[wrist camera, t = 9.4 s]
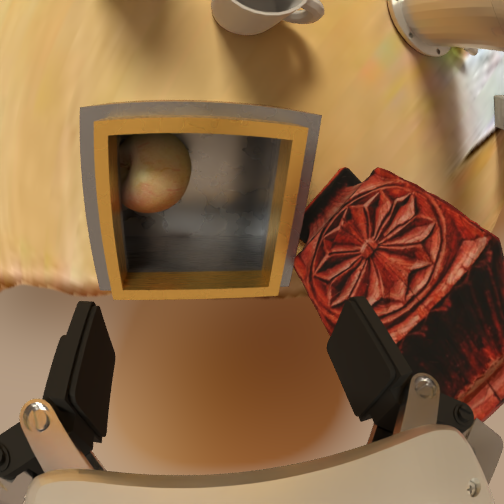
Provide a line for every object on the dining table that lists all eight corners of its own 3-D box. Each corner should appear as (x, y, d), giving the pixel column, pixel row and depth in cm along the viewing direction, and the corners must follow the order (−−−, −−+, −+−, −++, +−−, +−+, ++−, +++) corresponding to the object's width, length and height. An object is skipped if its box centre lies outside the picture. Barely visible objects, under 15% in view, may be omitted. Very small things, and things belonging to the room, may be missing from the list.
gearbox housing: (283, 107, 28) (336, 119, 18) (264, 238, 36) (297, 302, 26) (113, 102, 24) (66, 110, 13) (118, 239, 32) (94, 308, 21)
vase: (343, 146, 31) (577, 304, 6) (396, 210, 38) (549, 352, 13) (269, 230, 35) (398, 478, 10) (333, 277, 42) (444, 452, 17)
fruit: (157, 167, 30) (90, 159, 23) (195, 124, 25) (119, 105, 19) (170, 228, 28) (95, 228, 22) (215, 189, 23) (126, 179, 17)
